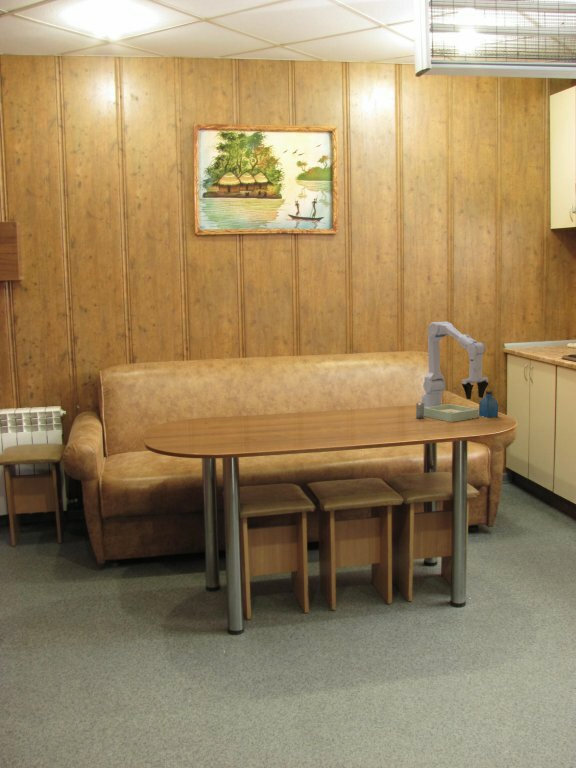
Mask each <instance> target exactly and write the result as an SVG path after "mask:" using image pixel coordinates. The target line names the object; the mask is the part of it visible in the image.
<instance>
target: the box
mask: <svg viewBox="0 0 576 768" xmlns="http://www.w3.org/2000/svg"><path fill="white" fill-rule="evenodd" d="M425 416H426V417H425ZM424 417H425V418H431V419H435V420H440V421H444V422H447V423H448V422H449V423H453V422H459V421H461V422H462V421H465V420H466V421H467V420H472V418H473V419H478V418H479V408H474V407H468V406H463V405H458V404H452V403H446V404H441V405H439V406H432V407H425V408H424ZM477 417H478V418H477Z"/></svg>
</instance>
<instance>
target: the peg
mask: <svg viewBox="0 0 576 768" xmlns="http://www.w3.org/2000/svg"><path fill="white" fill-rule="evenodd" d="M415 406H416V407H415V409H416V410H415V411H416V412H415V419H418V420H424V419H425V416H424V403H422V402H417V403H416V404H415Z"/></svg>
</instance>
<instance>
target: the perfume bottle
mask: <svg viewBox="0 0 576 768" xmlns="http://www.w3.org/2000/svg"><path fill="white" fill-rule="evenodd" d="M493 394H494V393H493V391H492V390H485V393H484V395H485V397H483V398H481V400H480V401H479V403H478V404H479V407H478V416H479V415H480V416H479V417H482V416H484V417H483V418H486V417H487V419H488V418H489V419H491V418H499V403H498V401H497V399H496V398H494V397H493V396H494V395H493Z"/></svg>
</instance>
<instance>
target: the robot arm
mask: <svg viewBox="0 0 576 768" xmlns="http://www.w3.org/2000/svg"><path fill="white" fill-rule="evenodd" d="M427 327H428V328H427V333H428V334H427V350H428V351H427V355H428V356H427V357H428V360H427V361H428V373H427V375H426V376H424V381H423V389H424V392H423V393H422V394H421V395H422V396H421V403H424V408H425V407H432V406H439V405H442V397H443V395H442V394H443V393H444V390H445V389H446V381H445V377H444V375H443V374H442V373H441V359H440V355H441V353H440V351H441V350H440V342H441V340H442V339H443V338H445V337H446V336H447V335H449V336H450V337H452V338H453V339H455V340H457V341H458V342H457V343H458V345H459V346H460V347H462V348H463V349H465V350H466V352H467V354H468V358H469V367H468V369H469V371H468V378H463V379H462V380H461V381H462V382H461V386H462V388H463V390H464V393H465V394H464V395H465V397H466V400H471V399H472V393H473V388H474V384H476V386H477V390H478V391H477V396H478V398H480V399H482V398H484V395H485V393H486V389H487V387H488V386H489V377H488V376H484V377H483V355H484V354H485V353H486V345H485V344H484V343H483V342H481V341H479V342H478V341H477V339H473V338H472V337H471V335H470V334H463V333H462V332H460V331H459V330H458V329H456V327H455V326H454V324H453V323H450V321H447V320H446V321H432V322H431V323H429V324H428V326H427Z"/></svg>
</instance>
